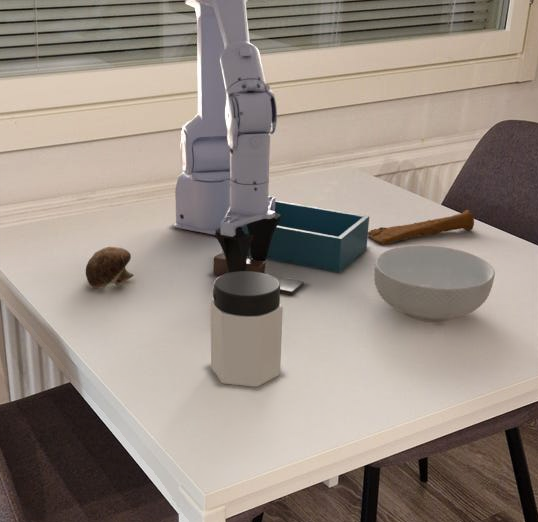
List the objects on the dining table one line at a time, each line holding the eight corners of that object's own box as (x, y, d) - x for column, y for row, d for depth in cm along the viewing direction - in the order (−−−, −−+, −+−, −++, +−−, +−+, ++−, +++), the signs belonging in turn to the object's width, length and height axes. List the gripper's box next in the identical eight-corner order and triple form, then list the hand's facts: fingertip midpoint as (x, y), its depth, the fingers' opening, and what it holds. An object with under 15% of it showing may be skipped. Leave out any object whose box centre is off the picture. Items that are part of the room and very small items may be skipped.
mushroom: (152, 261, 145) (125, 229, 142) (128, 297, 141) (99, 265, 138) (120, 273, 151) (93, 243, 148) (96, 308, 147) (68, 278, 144)
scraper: (209, 278, 149) (209, 259, 147) (223, 268, 152) (223, 250, 151) (291, 295, 144) (292, 276, 142) (304, 285, 147) (304, 266, 146)
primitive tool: (380, 244, 163) (382, 224, 161) (365, 234, 167) (366, 214, 165) (476, 233, 169) (479, 213, 167) (459, 223, 173) (461, 204, 172)
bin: (228, 251, 159) (228, 218, 156) (261, 229, 168) (262, 197, 165) (338, 272, 152) (341, 239, 149) (366, 248, 162) (369, 216, 159)
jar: (243, 350, 128) (245, 264, 121) (291, 370, 123) (296, 281, 117) (197, 373, 122) (196, 284, 115) (246, 394, 118) (248, 303, 111)
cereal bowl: (414, 344, 131) (420, 295, 127) (349, 300, 143) (352, 254, 139) (511, 322, 137) (520, 275, 133) (441, 282, 150) (447, 238, 146)
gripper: (252, 196, 133) (250, 288, 141) (294, 170, 144) (291, 257, 152) (207, 188, 136) (208, 279, 143) (252, 164, 147) (250, 250, 154)
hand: (248, 268), depth 148 cm, fingers open, 7 cm apart
